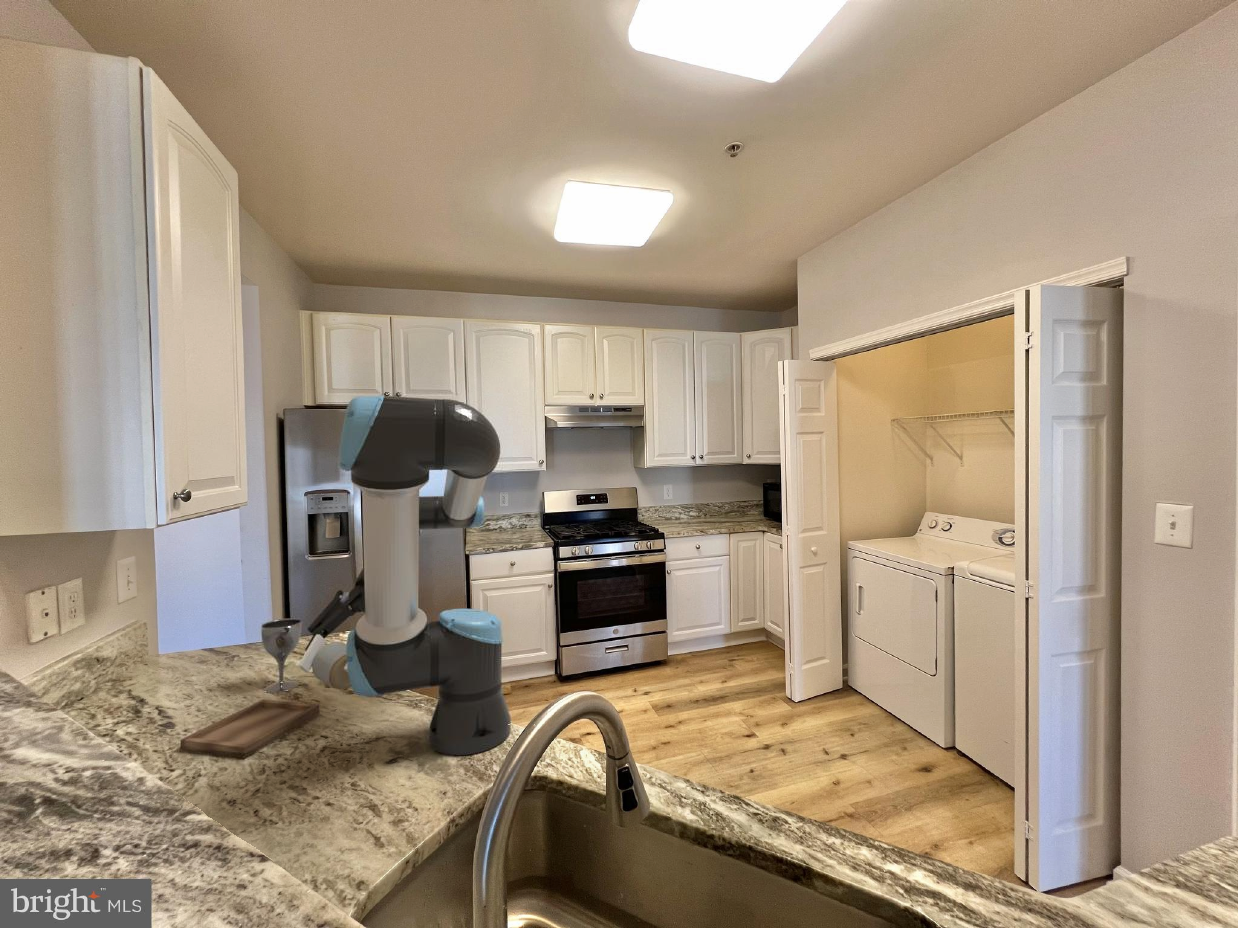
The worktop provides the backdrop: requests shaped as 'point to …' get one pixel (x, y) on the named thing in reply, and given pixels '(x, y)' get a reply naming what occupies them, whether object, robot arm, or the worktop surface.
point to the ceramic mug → (332, 665)
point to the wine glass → (281, 647)
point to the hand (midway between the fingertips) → (325, 670)
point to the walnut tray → (250, 729)
